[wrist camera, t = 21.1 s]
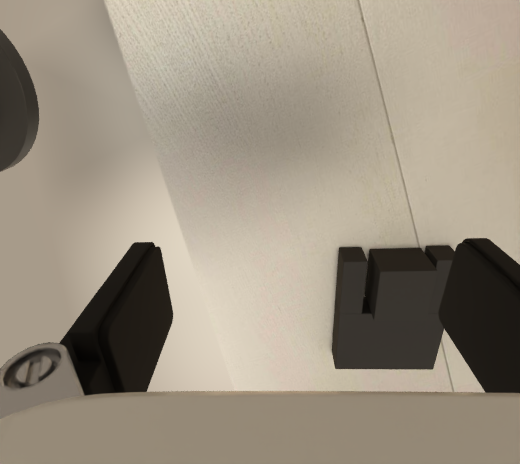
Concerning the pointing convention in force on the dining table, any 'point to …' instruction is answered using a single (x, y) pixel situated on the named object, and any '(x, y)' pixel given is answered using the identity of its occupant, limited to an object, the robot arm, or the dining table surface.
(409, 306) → the dark grey square block
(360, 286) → the forked base block
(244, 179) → the dining table surface
